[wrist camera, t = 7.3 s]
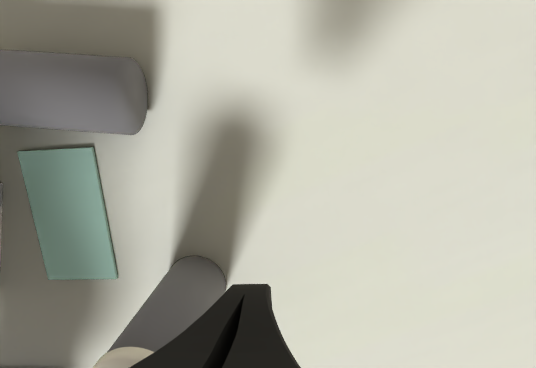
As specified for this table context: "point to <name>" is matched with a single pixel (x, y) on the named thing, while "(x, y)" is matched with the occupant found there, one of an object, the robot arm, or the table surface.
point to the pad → (69, 213)
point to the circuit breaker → (0, 195)
